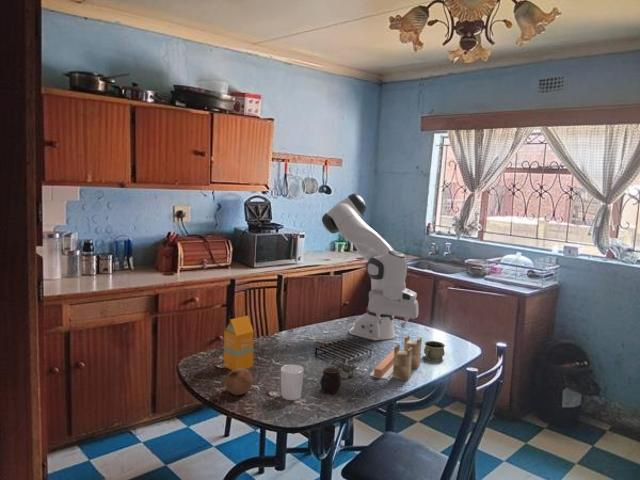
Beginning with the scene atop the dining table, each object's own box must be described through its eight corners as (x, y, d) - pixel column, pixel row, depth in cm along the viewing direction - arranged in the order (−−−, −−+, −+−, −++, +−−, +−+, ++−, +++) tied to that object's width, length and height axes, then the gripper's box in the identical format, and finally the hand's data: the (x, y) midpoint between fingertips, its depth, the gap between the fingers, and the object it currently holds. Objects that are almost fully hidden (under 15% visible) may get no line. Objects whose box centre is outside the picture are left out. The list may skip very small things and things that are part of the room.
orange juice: (223, 366, 202) (224, 317, 200) (241, 360, 209) (242, 313, 206) (235, 372, 197) (236, 321, 194) (253, 366, 203) (254, 317, 201)
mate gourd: (316, 388, 185) (318, 361, 184) (335, 385, 188) (336, 359, 187) (324, 396, 179) (326, 369, 178) (344, 393, 182) (345, 366, 181)
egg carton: (357, 376, 198) (358, 366, 197) (341, 380, 194) (342, 370, 194) (343, 367, 207) (343, 357, 206) (327, 370, 203) (327, 360, 203)
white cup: (279, 391, 182) (280, 364, 180) (302, 391, 182) (303, 364, 181) (280, 401, 174) (280, 373, 173) (303, 401, 175) (304, 373, 173)
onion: (233, 405, 176) (224, 385, 171) (227, 388, 184) (219, 368, 179) (259, 393, 178) (251, 373, 173) (252, 376, 186) (244, 356, 181)
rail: (373, 375, 198) (374, 368, 197) (392, 356, 219) (393, 349, 219) (381, 377, 196) (381, 370, 196) (399, 357, 218) (399, 351, 217)
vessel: (432, 352, 228) (433, 338, 227) (449, 357, 222) (451, 343, 221) (417, 358, 219) (418, 344, 218) (435, 364, 213) (436, 350, 212)
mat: (369, 375, 198) (369, 374, 198) (388, 356, 220) (388, 355, 220) (386, 379, 196) (386, 378, 195) (404, 359, 217) (404, 358, 217)
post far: (403, 365, 210) (404, 337, 208) (405, 362, 214) (407, 335, 212) (417, 368, 208) (419, 340, 206) (419, 365, 211) (421, 337, 210)
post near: (392, 377, 198) (394, 347, 196) (395, 374, 201) (397, 344, 200) (407, 380, 195) (409, 350, 193) (410, 377, 199) (412, 347, 197)
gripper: (366, 289, 205) (364, 323, 207) (417, 297, 197) (414, 332, 198) (371, 286, 210) (369, 319, 212) (420, 294, 202) (418, 327, 204)
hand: (391, 325), depth 205 cm, fingers open, 8 cm apart
